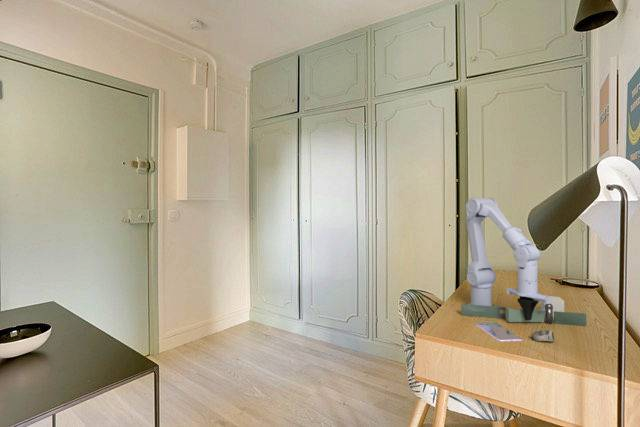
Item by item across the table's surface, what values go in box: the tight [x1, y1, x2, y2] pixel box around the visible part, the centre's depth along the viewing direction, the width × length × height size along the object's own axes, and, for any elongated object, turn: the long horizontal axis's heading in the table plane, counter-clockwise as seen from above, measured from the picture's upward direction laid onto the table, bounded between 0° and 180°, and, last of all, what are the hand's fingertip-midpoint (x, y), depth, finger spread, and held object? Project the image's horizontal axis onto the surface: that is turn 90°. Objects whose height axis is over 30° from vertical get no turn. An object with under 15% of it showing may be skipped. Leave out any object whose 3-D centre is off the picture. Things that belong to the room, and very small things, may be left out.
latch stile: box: [460, 303, 506, 320], centre depth 119 cm, size 1×15×4 cm, turn 74°
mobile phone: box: [475, 321, 523, 342], centre depth 104 cm, size 8×1×15 cm
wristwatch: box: [531, 329, 555, 343], centre depth 97 cm, size 4×6×5 cm
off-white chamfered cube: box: [540, 295, 565, 317], centre depth 121 cm, size 6×6×6 cm
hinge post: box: [544, 304, 587, 327], centre depth 110 cm, size 2×12×7 cm, turn 74°
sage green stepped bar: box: [505, 307, 546, 323], centre depth 112 cm, size 12×2×4 cm, turn 88°
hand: (528, 319), depth 110 cm, fingers closed
